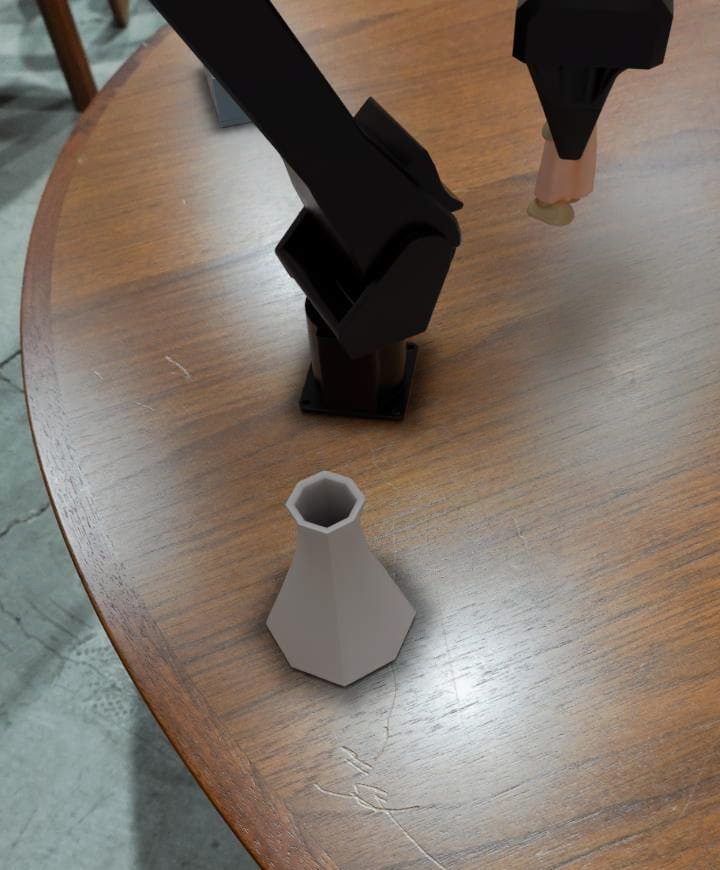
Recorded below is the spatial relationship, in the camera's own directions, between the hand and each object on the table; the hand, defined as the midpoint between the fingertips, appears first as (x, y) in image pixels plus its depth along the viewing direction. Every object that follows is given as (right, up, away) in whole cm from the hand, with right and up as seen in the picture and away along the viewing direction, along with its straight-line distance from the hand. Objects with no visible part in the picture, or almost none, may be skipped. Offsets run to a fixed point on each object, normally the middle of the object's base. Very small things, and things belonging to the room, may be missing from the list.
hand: (575, 116), depth 48 cm
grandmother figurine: (0, -3, +4) cm, 5 cm away
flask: (-13, -27, -2) cm, 30 cm away
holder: (-21, +15, +28) cm, 38 cm away
